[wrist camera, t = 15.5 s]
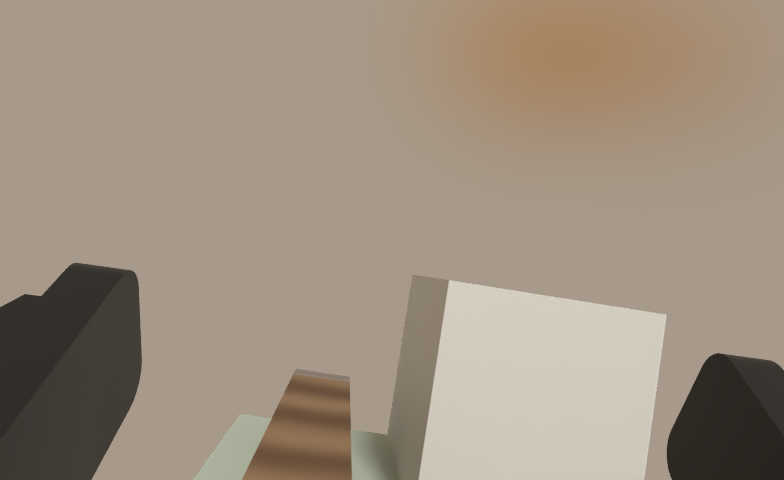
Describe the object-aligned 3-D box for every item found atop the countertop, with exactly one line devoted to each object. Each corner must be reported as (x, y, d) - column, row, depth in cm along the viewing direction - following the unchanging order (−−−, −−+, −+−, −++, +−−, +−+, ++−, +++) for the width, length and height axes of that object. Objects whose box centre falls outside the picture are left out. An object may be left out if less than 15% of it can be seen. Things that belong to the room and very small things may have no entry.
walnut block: (333, 629, 20) (352, 509, 20) (214, 614, 19) (235, 493, 19) (340, 430, 43) (349, 376, 43) (287, 422, 43) (295, 368, 43)
